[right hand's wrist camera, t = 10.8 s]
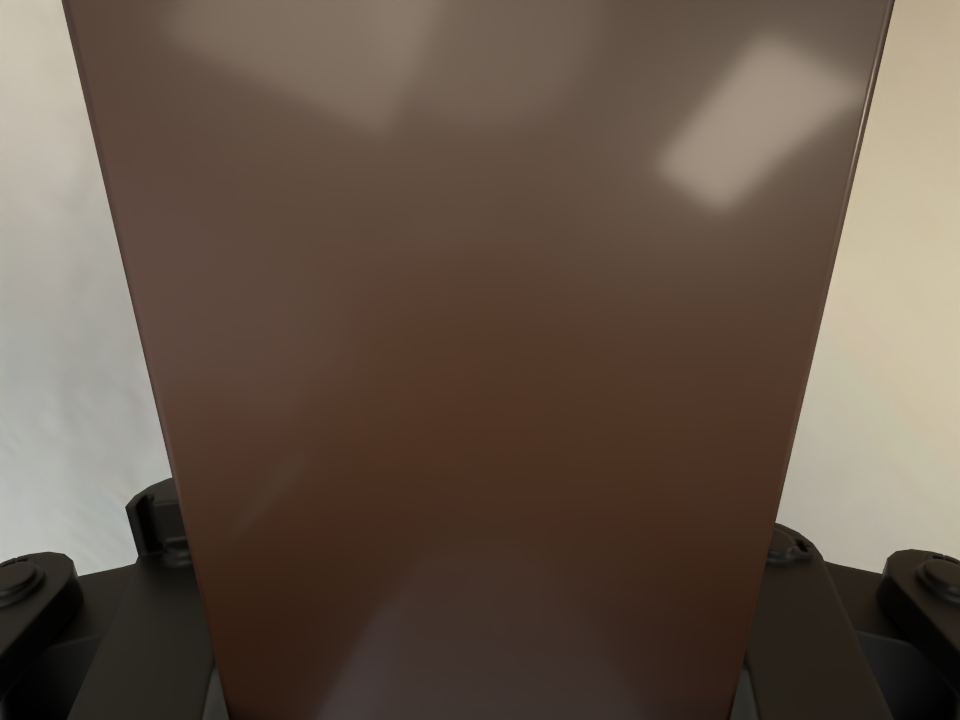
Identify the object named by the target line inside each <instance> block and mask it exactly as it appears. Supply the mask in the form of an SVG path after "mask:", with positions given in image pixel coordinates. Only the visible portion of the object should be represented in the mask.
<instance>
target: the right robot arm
mask: <svg viewBox="0 0 960 720" xmlns="http://www.w3.org/2000/svg"><path fill="white" fill-rule="evenodd" d="M125 508H126V512H127V516H128V519H129V523H130V527H131V530H132V534H133V537H134V541H135V545H136V548H137V552H138V558H137V561H136V563H135V564H132V565H128V566H125V567H121V568H116V569H111V570H106V571H102V572H97V573H92V574H88V575H83V576H78V575H77V572H76V569H75V566H74V563H73V560H71V559H70V558H69V557H68V556H66V555H65V554H61V553H54V552H42V553H35V554H28V555H24V556H20V557H18V558H13V559H10V560H7V561H5V562H2V563H1V564H0V720H229V717H228V713H227V709H226V704H225V700H224V696H223V691H222V687H221V683H220V678H219V674H218V670H217V666H216V661H215V657H214V653H213V648H212V644H211V640H210V636H209V631H208V627H207V623H206V618H205V614H204V610H203V605H202V601H201V597H200V593H199V588H198V584H197V580H196V575H195V571H194V567H193V563H192V558H191V554H190V550H189V545H188V541H187V537H186V532H185V528H184V524H183V520H182V515H181V511H180V507H179V502H178V498H177V494H176V490H175V485H174V481H173V478H169V479H166V480H164V481H161V482H159V483H156V484H154V485H151V486H149V487H148V488H146V489H145V490H143V491H142V492H140V493H138V494H137V495H135V496H134V497H133V499H132V500H131V501H130V502H129V503H128V504H127V505H126V507H125ZM730 720H960V561H959V560H957V559H955V558H952V557H949V556H946V555H945V556H944V555H943V554H939V553H935V552H930V551H922V550H914V549H909V550H902V551H896V552H895V553H893V554H892V555H891V556H890V557H888V558H887V561H886V564H885V567H884V570H883V573H882V574H879V573H875V572H870V571H865V570H860V569H856V568H851V567H846V566H841V565H837V564H833V563H830V562H826V561H824V560H823V557H822V555H821V554H820V553H819V551H818V550H817V548H816V547H815V546H814V544H813V543H812V542H810V541H809V540H808V539H806V538H805V537H804V536H802V535H801V534H800V533H798V532H796V531H794V530H792V529H790V528H788V527H785V526H783V525H781V524H778V523H775V526H774V530H773V534H772V539H771V543H770V547H769V552H768V556H767V561H766V565H765V569H764V574H763V578H762V582H761V587H760V591H759V595H758V600H757V604H756V609H755V613H754V617H753V622H752V626H751V630H750V635H749V639H748V643H747V648H746V652H745V657H744V661H743V665H742V670H741V674H740V678H739V683H738V687H737V691H736V696H735V700H734V705H733V709H732V713H731V718H730Z"/></svg>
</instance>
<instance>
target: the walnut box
mask: <svg viewBox="0 0 960 720" xmlns="http://www.w3.org/2000/svg"><path fill="white" fill-rule="evenodd" d="M894 2H895V0H62V4H63V9H64V13H65V17H66V22H67V26H68V30H69V34H70V39H71V43H72V47H73V52H74V56H75V60H76V64H77V69H78V73H79V77H80V82H81V86H82V90H83V95H84V99H85V103H86V107H87V112H88V116H89V120H90V125H91V129H92V133H93V137H94V142H95V146H96V150H97V155H98V159H99V163H100V168H101V172H102V176H103V180H104V185H105V189H106V193H107V198H108V202H109V206H110V210H111V215H112V219H113V223H114V228H115V232H116V236H117V241H118V245H119V249H120V253H121V258H122V262H123V266H124V271H125V275H126V279H127V283H128V288H129V292H130V296H131V301H132V305H133V309H134V314H135V318H136V322H137V326H138V331H139V335H140V339H141V344H142V348H143V352H144V356H145V361H146V365H147V369H148V374H149V378H150V382H151V386H152V391H153V395H154V399H155V404H156V408H157V412H158V417H159V421H160V425H161V429H162V434H163V438H164V442H165V447H166V451H167V455H168V459H169V464H170V468H171V472H172V477H173V481H174V485H175V490H176V494H177V498H178V502H179V507H180V511H181V515H182V520H183V524H184V528H185V532H186V537H187V541H188V545H189V550H190V554H191V558H192V563H193V567H194V571H195V575H196V580H197V584H198V588H199V593H200V597H201V601H202V605H203V610H204V614H205V618H206V623H207V627H208V631H209V636H210V640H211V644H212V648H213V653H214V657H215V661H216V666H217V670H218V674H219V678H220V683H221V687H222V691H223V696H224V700H225V704H226V709H227V713H228V717H229V720H730V718H731V713H732V709H733V705H734V700H735V696H736V691H737V687H738V683H739V678H740V674H741V670H742V665H743V661H744V657H745V652H746V648H747V643H748V639H749V635H750V630H751V626H752V622H753V617H754V613H755V609H756V604H757V600H758V595H759V591H760V587H761V582H762V578H763V574H764V569H765V565H766V561H767V556H768V552H769V547H770V543H771V539H772V534H773V530H774V526H775V521H776V517H777V512H778V508H779V504H780V499H781V495H782V491H783V486H784V482H785V478H786V473H787V469H788V464H789V460H790V456H791V451H792V447H793V443H794V438H795V434H796V430H797V425H798V421H799V416H800V412H801V408H802V403H803V399H804V395H805V390H806V386H807V382H808V377H809V373H810V368H811V364H812V360H813V355H814V351H815V347H816V342H817V338H818V333H819V329H820V325H821V320H822V316H823V312H824V307H825V303H826V299H827V294H828V290H829V285H830V281H831V277H832V272H833V268H834V264H835V259H836V255H837V251H838V246H839V242H840V237H841V233H842V229H843V224H844V220H845V216H846V211H847V207H848V203H849V198H850V194H851V189H852V185H853V181H854V176H855V172H856V168H857V163H858V159H859V154H860V150H861V146H862V141H863V137H864V133H865V128H866V124H867V120H868V115H869V111H870V106H871V102H872V98H873V93H874V89H875V85H876V80H877V76H878V72H879V67H880V63H881V58H882V54H883V50H884V45H885V41H886V37H887V32H888V28H889V24H890V19H891V15H892V10H893V6H894Z"/></svg>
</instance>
